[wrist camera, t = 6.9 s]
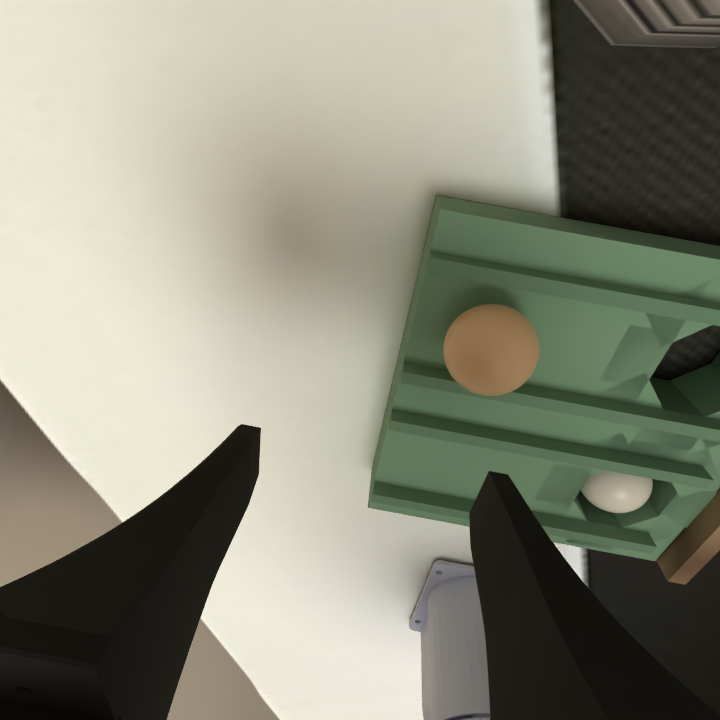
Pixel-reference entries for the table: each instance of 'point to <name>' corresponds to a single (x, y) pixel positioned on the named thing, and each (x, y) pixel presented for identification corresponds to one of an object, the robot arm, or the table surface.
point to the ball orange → (491, 349)
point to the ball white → (617, 491)
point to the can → (655, 22)
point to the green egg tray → (557, 377)
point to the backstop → (693, 545)
